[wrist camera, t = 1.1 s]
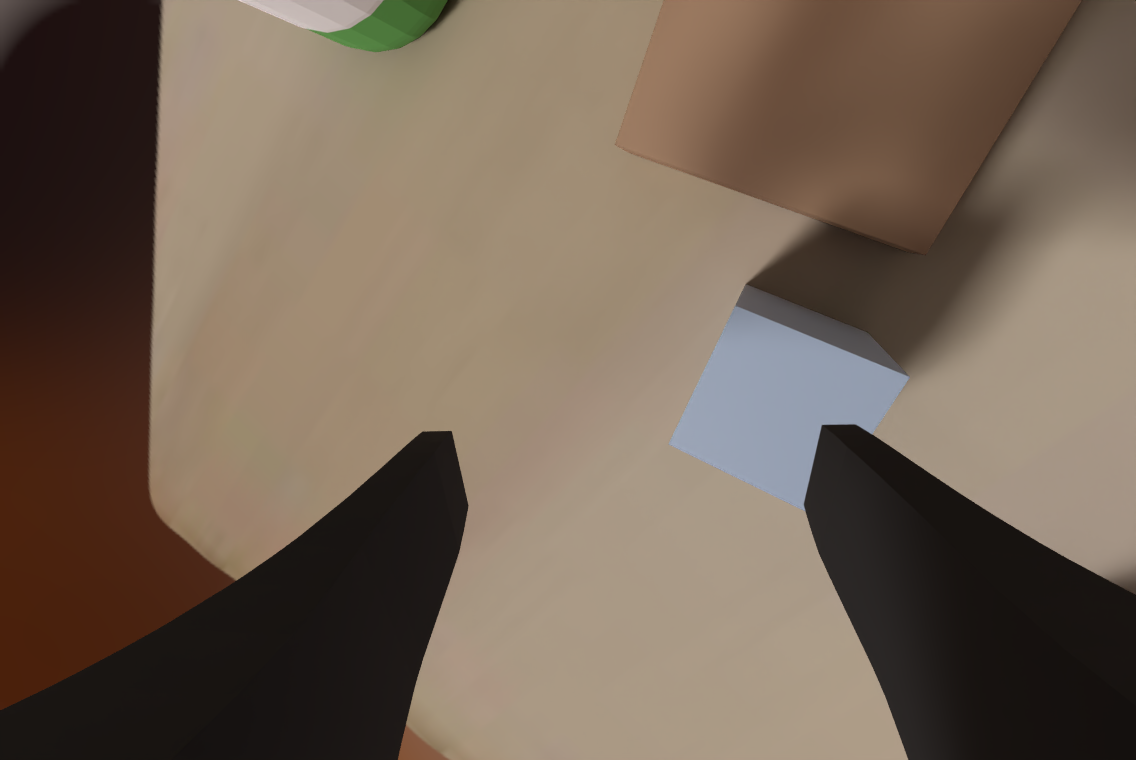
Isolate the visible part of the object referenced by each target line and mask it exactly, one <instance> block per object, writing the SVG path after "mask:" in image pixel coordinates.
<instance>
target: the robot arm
mask: <svg viewBox="0 0 1136 760" xmlns="http://www.w3.org/2000/svg"><path fill="white" fill-rule="evenodd" d="M804 508H805V511H806V514H807V518H808V521H809V524H810V528H811V531H812V534H813V537H814V540H815V543H816V546H817V549H818V552H819V554H820V557H821V559H822V561H823V563H824V565H825V568H826V570H827V572H828V574H829V576H830V578H831V580H832V583H833V585H834V587H835V589H836V591H837V593H838V595H839V597H840V600H841V602H842V604H843V606H844V608H845V610H846V612H847V614H848V616H849V618H850V621H851V623H852V625H853V627H854V629H855V631H856V633H857V635H858V637H859V639H860V642H861V644H862V646H863V648H864V650H865V652H866V654H867V656H868V658H869V660H870V663H871V665H872V667H873V669H874V671H875V674H876V676H877V678H878V681H879V683H880V685H881V688H882V690H883V692H884V695H885V697H886V699H887V702H888V705H889V708H890V710H891V713H892V716H893V719H894V721H895V724H896V727H897V730H898V732H899V735H900V738H901V741H902V743H903V746H904V749H905V751H906V754H907V757H908V760H1136V595H1135V594H1133V593H1131V592H1129V591H1127V590H1125V589H1123V588H1121V587H1120V586H1118V585H1116V584H1114V583H1112V582H1110V581H1108V580H1106V579H1105V578H1103V577H1101V576H1099V575H1097V574H1095V573H1093V572H1091V571H1090V570H1088V569H1086V568H1084V567H1082V566H1080V565H1078V564H1077V563H1075V562H1073V561H1071V560H1069V559H1067V558H1065V557H1064V556H1062V555H1060V554H1058V553H1057V552H1055V551H1053V550H1051V549H1050V548H1048V547H1046V546H1044V545H1043V544H1041V543H1039V542H1037V541H1036V540H1034V539H1032V538H1031V537H1029V536H1027V535H1026V534H1024V533H1022V532H1021V531H1019V530H1018V529H1016V528H1014V527H1013V526H1011V525H1009V524H1008V523H1006V522H1004V521H1003V520H1001V519H999V518H998V517H996V516H994V515H993V514H991V513H990V512H988V511H986V510H985V509H983V508H982V507H980V506H979V505H977V504H975V503H974V502H972V501H971V500H969V499H968V498H966V497H965V496H963V495H961V494H960V493H958V492H957V491H955V490H954V489H952V488H951V487H949V486H948V485H946V484H945V483H943V482H942V481H940V480H939V479H937V478H936V477H934V476H933V475H931V474H930V473H928V472H927V471H925V470H924V469H923V468H921V467H920V466H918V465H917V464H915V463H914V462H912V461H911V460H909V459H908V458H906V457H905V456H903V455H902V454H901V453H899V452H898V451H896V450H895V449H893V448H892V447H890V446H889V445H887V444H886V443H884V442H883V441H881V440H880V439H878V438H877V437H875V436H874V435H872V434H871V433H869V432H868V431H866V430H864V429H863V428H861V427H859V426H858V425H856V424H839V425H822V426H821V431H820V435H819V439H818V444H817V448H816V452H815V457H814V461H813V465H812V470H811V474H810V479H809V483H808V487H807V492H806V496H805V500H804ZM467 511H468V502H467V497H466V493H465V488H464V484H463V480H462V475H461V471H460V466H459V462H458V457H457V453H456V448H455V444H454V439H453V435H452V431H430V432H422V433H420V434H419V435H418V436H417V437H415V438H414V439H413V440H412V441H411V442H410V443H408V444H407V445H406V446H405V447H404V448H403V449H402V450H401V451H400V452H398V453H397V454H396V455H395V456H394V457H393V458H392V459H391V460H390V461H388V462H387V463H386V464H385V465H384V466H383V467H382V468H381V469H380V470H378V471H377V472H376V473H375V474H374V475H373V476H372V477H370V478H369V479H368V480H367V481H366V482H365V483H364V484H362V485H361V486H360V487H359V488H358V489H357V490H356V491H354V492H353V493H352V494H351V495H350V496H349V497H348V498H346V499H345V500H344V501H343V502H341V503H340V504H339V505H338V506H337V507H335V508H334V509H333V510H332V511H330V512H329V513H328V514H327V515H325V516H324V517H323V518H322V519H320V520H319V521H318V522H317V523H315V524H314V525H313V526H312V527H310V528H309V529H308V530H307V531H306V532H304V533H303V534H302V535H301V536H299V537H298V538H297V539H295V540H294V541H293V542H291V543H290V544H289V545H287V546H286V547H284V548H283V549H282V550H280V551H279V552H278V553H276V554H275V555H273V556H272V557H271V558H269V559H268V560H266V561H265V562H263V563H262V564H260V565H259V566H258V567H256V568H255V569H253V570H252V571H250V572H249V573H247V574H246V575H244V576H243V577H241V578H240V579H238V580H237V581H235V582H234V583H232V584H231V585H229V586H228V587H226V588H225V589H223V590H222V591H220V592H218V593H216V594H215V595H213V596H212V597H210V598H208V599H206V600H205V601H203V602H202V603H200V604H198V605H197V606H195V607H193V608H192V609H190V610H189V611H187V612H185V613H184V614H182V615H180V616H179V617H177V618H176V619H174V620H173V621H171V622H169V623H167V624H166V625H164V626H162V627H160V628H159V629H157V630H155V631H153V632H152V633H150V634H148V635H146V636H145V637H143V638H141V639H139V640H137V641H136V642H134V643H132V644H130V645H128V646H127V647H125V648H123V649H121V650H119V651H117V652H116V653H114V654H112V655H110V656H108V657H106V658H104V659H102V660H101V661H99V662H97V663H95V664H93V665H91V666H89V667H87V668H85V669H84V670H82V671H80V672H78V673H76V674H74V675H72V676H70V677H68V678H66V679H64V680H62V681H60V682H58V683H56V684H54V685H52V686H50V687H49V688H46V689H44V690H42V691H40V692H38V693H36V694H34V695H32V696H30V697H28V698H25V699H23V700H21V701H19V702H17V703H15V704H13V705H11V706H9V707H7V708H5V709H3V710H0V760H398V756H399V751H400V746H401V742H402V738H403V734H404V730H405V726H406V721H407V717H408V713H409V709H410V705H411V701H412V696H413V692H414V688H415V684H416V681H417V677H418V674H419V671H420V667H421V664H422V661H423V657H424V655H425V652H426V649H427V646H428V643H429V640H430V637H431V634H432V631H433V628H434V625H435V622H436V619H437V616H438V614H439V611H440V608H441V605H442V602H443V599H444V596H445V593H446V590H447V587H448V584H449V581H450V578H451V575H452V572H453V569H454V566H455V563H456V560H457V557H458V554H459V550H460V546H461V541H462V536H463V532H464V527H465V521H466V516H467Z"/></svg>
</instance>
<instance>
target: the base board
mask: <svg viewBox="0 0 1136 760" xmlns="http://www.w3.org/2000/svg"><path fill="white" fill-rule="evenodd" d="M1081 1H1082V0H664V1H663V4H662V7H661V10H660V13H659V16H658V19H657V22H656V25H655V28H654V31H653V34H652V37H651V40H650V43H649V46H648V48H647V51H646V54H645V57H644V60H643V63H642V66H641V69H640V72H639V75H638V78H637V81H636V84H635V87H634V90H633V93H632V96H631V99H630V101H629V104H628V107H627V110H626V113H625V116H624V119H623V122H622V125H621V128H620V131H619V134H618V137H617V140H616V143H615V145H616V146H618V147H620V148H622V149H623V150H625V151H627V152H629V153H631V154H634V155H637V156H640V157H642V158H645V159H648V160H651V161H654V162H656V163H659V164H662V165H665V166H668V167H670V168H673V169H676V170H679V171H682V172H685V173H687V174H690V175H693V176H696V177H699V178H701V179H704V180H707V181H710V182H713V183H715V184H718V185H721V186H724V187H727V188H729V189H732V190H735V191H738V192H741V193H744V194H746V195H749V196H752V197H755V198H758V199H760V200H763V201H766V202H769V203H772V204H774V205H777V206H780V207H783V208H786V209H788V210H791V211H794V212H797V213H800V214H802V215H805V216H808V217H811V218H814V219H817V220H819V221H822V222H825V223H828V224H831V225H833V226H836V227H839V228H842V229H845V230H847V231H850V232H853V233H856V234H859V235H861V236H864V237H867V238H870V239H873V240H876V241H878V242H881V243H884V244H887V245H890V246H892V247H895V248H898V249H901V250H904V251H906V252H910V253H916V254H922V255H926V254H927V252H928V250H929V249H930V247H931V245H932V244H933V242H934V241H935V239H936V237H937V236H938V234H939V232H940V231H941V229H942V227H943V226H944V224H945V223H946V221H947V219H948V218H949V216H950V214H951V213H952V211H953V210H954V208H955V206H956V205H957V203H958V201H959V200H960V198H961V196H962V195H963V193H964V192H965V190H966V188H967V187H968V185H969V183H970V182H971V180H972V179H973V177H974V175H975V174H976V172H977V170H978V169H979V167H980V166H981V164H982V162H983V161H984V159H985V157H986V156H987V154H988V152H989V151H990V149H991V148H992V146H993V144H994V143H995V141H996V139H997V138H998V136H999V135H1000V133H1001V131H1002V130H1003V128H1004V126H1005V125H1006V123H1007V121H1008V120H1009V118H1010V117H1011V115H1012V113H1013V112H1014V110H1015V108H1016V107H1017V105H1018V104H1019V102H1020V100H1021V99H1022V97H1023V95H1024V94H1025V92H1026V90H1027V89H1028V87H1029V86H1030V84H1031V82H1032V81H1033V79H1034V77H1035V76H1036V74H1037V73H1038V71H1039V69H1040V68H1041V66H1042V64H1043V63H1044V61H1045V59H1046V58H1047V56H1048V55H1049V53H1050V51H1051V50H1052V48H1053V46H1054V45H1055V43H1056V42H1057V40H1058V38H1059V37H1060V35H1061V33H1062V32H1063V30H1064V28H1065V27H1066V25H1067V24H1068V22H1069V20H1070V19H1071V17H1072V15H1073V14H1074V12H1075V11H1076V9H1077V7H1078V6H1079V4H1080V2H1081Z"/></svg>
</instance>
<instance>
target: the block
mask: <svg viewBox="0 0 1136 760" xmlns="http://www.w3.org/2000/svg"><path fill="white" fill-rule="evenodd" d="M909 378H910V377H909V376H908V375H907V374H906V372H905V371H904V370H903V369H902V368H901V367H900V366H899V365H898V364H897V363H896V362H895V361H894V360H893V359H892V358H891V357H890V356H889V355H888V353H887V352H886V351H885V350H884V349H883V348H882V347H881V346H880V345H879V344H878V343H877V342H876V341H875V340H874V339H873V338H872V337H871V335H870V334H869V333H868V332H865V331H863V330H860V329H858V328H855V327H853V326H850V325H848V324H845V323H843V322H840V321H838V320H835V319H833V318H830V317H828V316H825V315H822V314H820V313H817V312H815V311H812V310H810V309H807V308H805V307H802V306H800V305H797V304H795V303H792V302H790V301H787V300H785V299H782V298H780V297H777V296H775V295H772V294H770V293H767V292H765V291H762V290H760V289H757V288H755V287H752V286H750V285H747V284H746V285H745V287H744V289H743V291H742V293H741V295H740V297H739V299H738V301H737V303H736V305H735V307H734V309H733V312H732V314H731V316H730V318H729V320H728V322H727V324H726V326H725V328H724V330H723V332H722V334H721V336H720V338H719V341H718V343H717V345H716V347H715V349H714V351H713V353H712V355H711V357H710V359H709V361H708V363H707V365H706V367H705V370H704V372H703V374H702V376H701V378H700V380H699V382H698V384H697V386H696V388H695V390H694V392H693V394H692V396H691V399H690V401H689V403H688V405H687V407H686V409H685V411H684V413H683V415H682V417H681V419H680V421H679V424H678V426H677V428H676V430H675V432H674V434H673V436H672V438H671V440H670V442H669V445H671V446H673V447H675V448H677V449H679V450H681V451H683V452H685V453H687V454H689V455H691V456H693V457H695V458H697V459H700V460H702V461H704V462H706V463H708V464H710V465H712V466H714V467H716V468H718V469H720V470H722V471H724V472H726V473H728V474H730V475H732V476H734V477H736V478H738V479H740V480H742V481H744V482H746V483H749V484H751V485H753V486H755V487H757V488H759V489H761V490H763V491H765V492H767V493H769V494H771V495H773V496H775V497H777V498H779V499H781V500H783V501H785V502H787V503H789V504H791V505H793V506H795V507H797V508H800V509H802V510H804V511H805V508H804V500H805V496H806V492H807V487H808V483H809V479H810V474H811V470H812V465H813V461H814V457H815V452H816V448H817V444H818V439H819V435H820V431H821V426H822V425H839V424H856V425H858V426H859V427H861V428H863V429H864V430H866V431H868V432H869V433H871V434H872V433H873V432H874V430H875V429H876V427H877V426H878V424H879V423H880V421H881V420H882V418H883V417H884V415H885V414H886V412H887V411H888V409H889V408H890V406H891V405H892V403H893V402H894V400H895V399H896V397H897V396H898V394H899V393H900V391H901V390H902V388H903V387H904V385H905V384H906V382H907V381H908V379H909Z"/></svg>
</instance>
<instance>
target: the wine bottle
mask: <svg viewBox="0 0 1136 760" xmlns="http://www.w3.org/2000/svg"><path fill="white" fill-rule="evenodd" d="M239 1H241V2H243V3H246V4H248V5H250V6H253V7H255V8H257V9H259V10H262V11H264V12H266V13H269V14H271V15H273V16H276V17H278V18H280V19H282V20H285V21H287V22H289V23H292V24H294V25H296V26H299V27H301V28H305V29H308V30H310V31H312V32H315V33H317V34H319V35H322V36H324V37H326V38H328V39H331V40H333V41H335V42H338V43H340V44H342V45H344V46H348V47H351V48H356V49H362V50H367V51H372V52H381V51H386V50H392V49H398V48H401V47H403V46H405V45H407V44H408V43H410V42H412V41H414V40H415V39H417V38H419V37H420V36H421V35H422V34H423V33H424V32H425V31H426V30H427V29H428V28H429V27H430V26H431V25H432V24H433V23H434V22H435V21H436V20H437V18H438V17H439V15H440V13H441V11H442V10H443V8H444V6H445V4H446V3H447V1H448V0H239Z"/></svg>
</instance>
